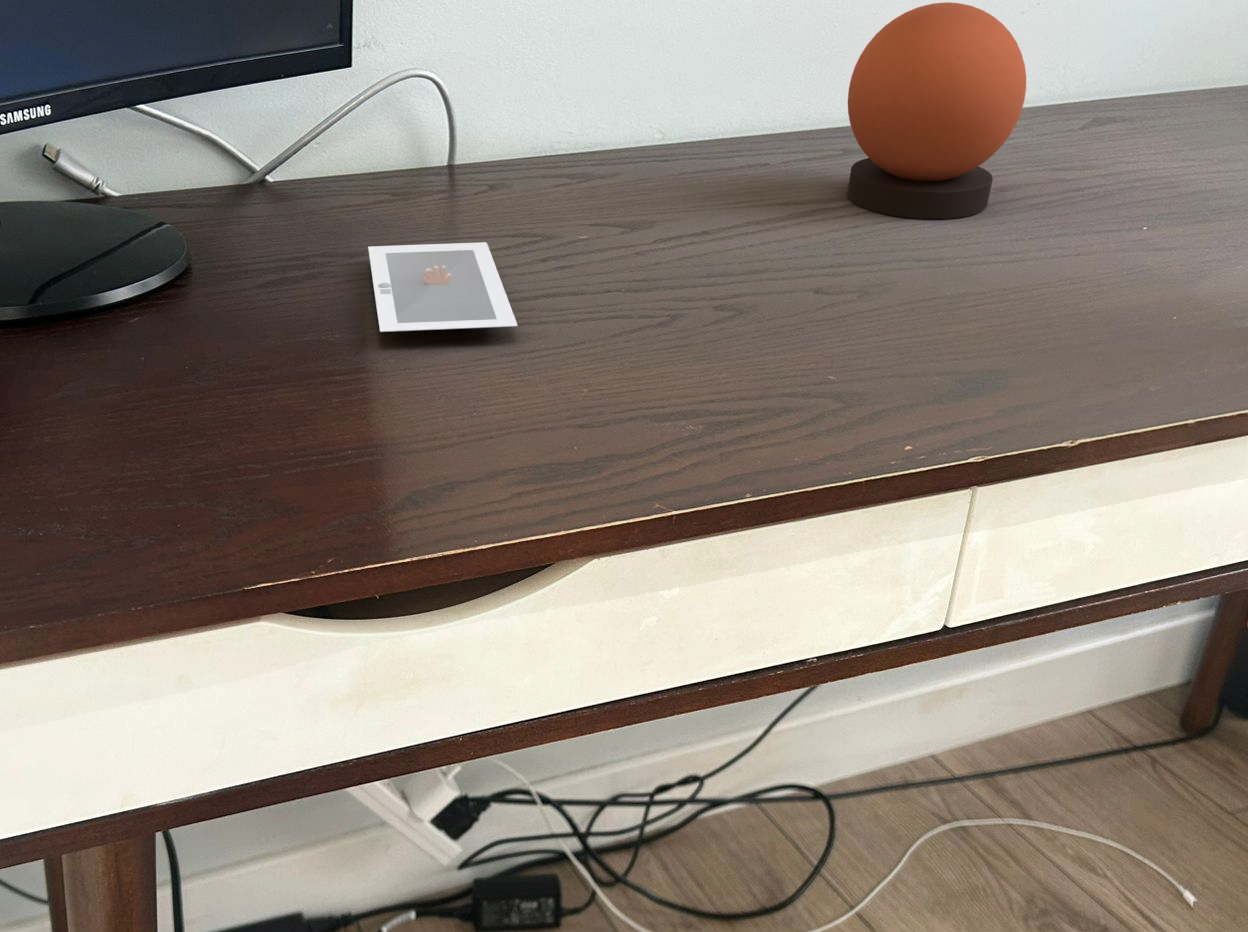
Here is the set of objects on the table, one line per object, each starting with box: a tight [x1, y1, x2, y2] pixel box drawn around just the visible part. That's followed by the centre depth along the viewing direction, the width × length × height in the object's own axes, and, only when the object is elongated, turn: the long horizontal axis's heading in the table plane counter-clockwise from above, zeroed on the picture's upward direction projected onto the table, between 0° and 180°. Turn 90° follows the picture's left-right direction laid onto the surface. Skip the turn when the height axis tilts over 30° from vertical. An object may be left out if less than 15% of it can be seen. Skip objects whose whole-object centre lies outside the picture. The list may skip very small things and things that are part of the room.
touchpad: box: [367, 241, 519, 333], centre depth 84 cm, size 8×15×2 cm, turn 5°
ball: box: [846, 1, 1027, 220], centre depth 98 cm, size 12×12×14 cm
